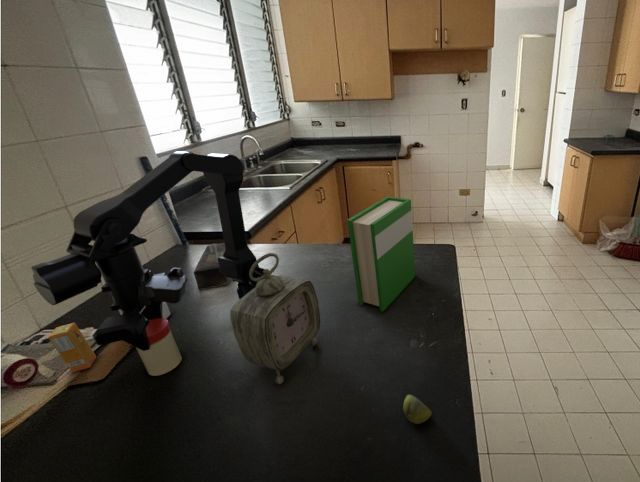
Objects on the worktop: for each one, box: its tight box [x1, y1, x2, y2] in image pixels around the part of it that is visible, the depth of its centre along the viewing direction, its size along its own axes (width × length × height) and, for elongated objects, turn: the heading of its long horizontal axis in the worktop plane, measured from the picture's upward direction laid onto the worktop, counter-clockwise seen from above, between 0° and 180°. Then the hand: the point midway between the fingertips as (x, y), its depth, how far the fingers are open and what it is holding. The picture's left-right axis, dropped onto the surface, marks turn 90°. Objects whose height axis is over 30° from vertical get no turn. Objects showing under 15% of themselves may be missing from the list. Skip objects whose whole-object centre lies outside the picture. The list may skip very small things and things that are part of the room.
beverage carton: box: [193, 242, 230, 291], centre depth 104 cm, size 8×19×7 cm, turn 20°
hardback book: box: [346, 195, 416, 313], centre depth 88 cm, size 18×7×24 cm, turn 153°
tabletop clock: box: [230, 252, 321, 385], centre depth 66 cm, size 14×9×25 cm, turn 160°
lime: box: [402, 394, 433, 425], centre depth 56 cm, size 4×5×5 cm
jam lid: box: [146, 318, 172, 344], centre depth 68 cm, size 6×6×2 cm
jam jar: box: [135, 329, 183, 377], centre depth 69 cm, size 6×6×9 cm
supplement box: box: [47, 322, 97, 373], centre depth 70 cm, size 3×3×10 cm
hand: (153, 338), depth 68 cm, fingers closed on jam lid, 6 cm apart
